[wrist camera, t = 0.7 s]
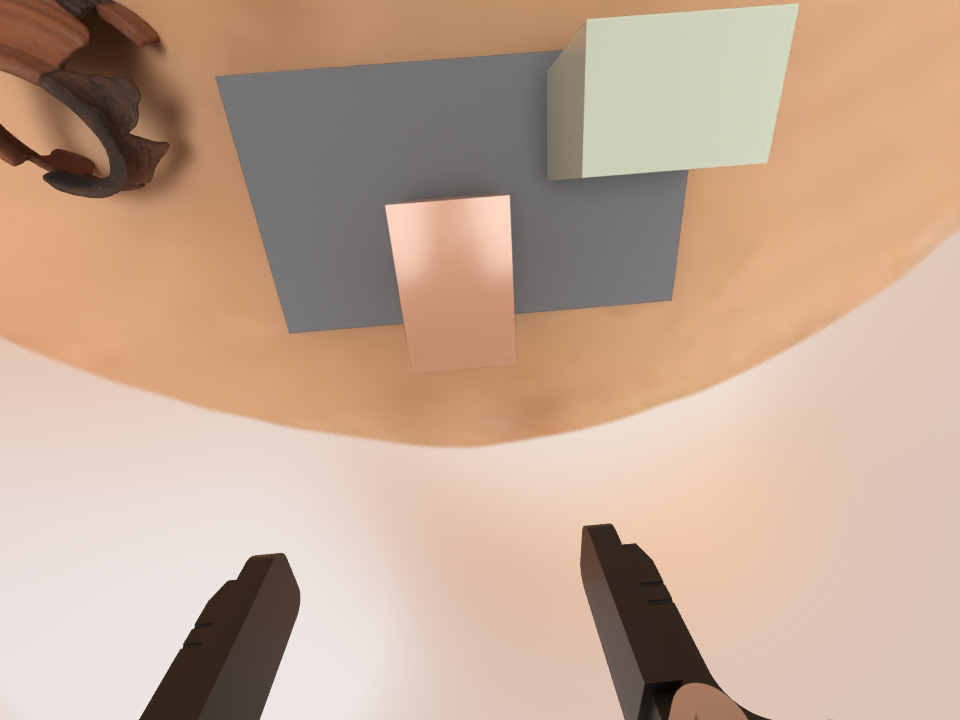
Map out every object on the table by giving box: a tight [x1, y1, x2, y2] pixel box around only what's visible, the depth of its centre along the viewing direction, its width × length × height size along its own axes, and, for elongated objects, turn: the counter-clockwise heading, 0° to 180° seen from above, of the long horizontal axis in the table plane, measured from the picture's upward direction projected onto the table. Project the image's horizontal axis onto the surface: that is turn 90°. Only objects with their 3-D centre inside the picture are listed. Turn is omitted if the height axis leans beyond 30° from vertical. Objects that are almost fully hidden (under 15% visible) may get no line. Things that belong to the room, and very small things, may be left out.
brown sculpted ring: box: [0, 0, 169, 198], centre depth 21 cm, size 12×10×8 cm
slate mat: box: [215, 50, 688, 334], centre depth 27 cm, size 16×29×1 cm, turn 94°
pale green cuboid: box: [547, 3, 799, 181], centre depth 21 cm, size 9×6×8 cm, turn 94°
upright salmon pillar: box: [385, 193, 516, 374], centre depth 24 cm, size 9×6×8 cm, turn 4°
